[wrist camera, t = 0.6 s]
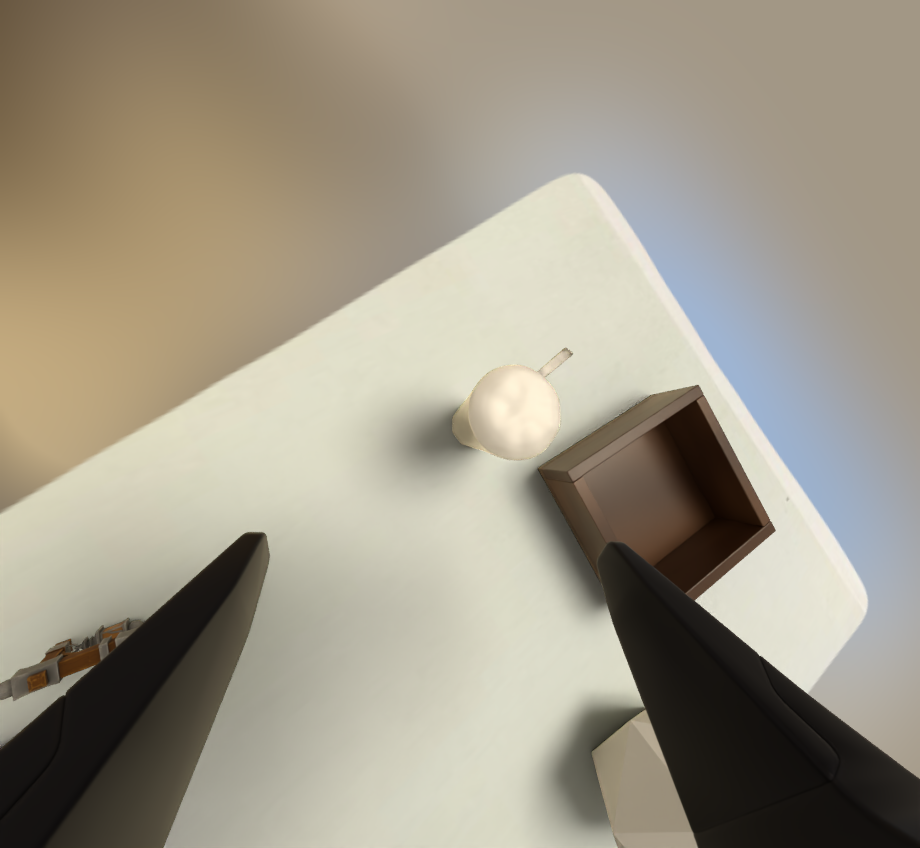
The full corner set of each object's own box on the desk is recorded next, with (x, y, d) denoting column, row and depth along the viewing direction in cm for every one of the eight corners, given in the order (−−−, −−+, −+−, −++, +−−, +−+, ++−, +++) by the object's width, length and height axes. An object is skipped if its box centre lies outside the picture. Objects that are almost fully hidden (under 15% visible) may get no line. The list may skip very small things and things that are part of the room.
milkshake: (522, 409, 25) (609, 382, 15) (481, 470, 24) (546, 483, 14) (472, 371, 24) (529, 317, 14) (429, 432, 23) (458, 417, 13)
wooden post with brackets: (29, 640, 17) (-21, 681, 14) (220, 576, 22) (221, 593, 18) (34, 676, 17) (-14, 727, 14) (225, 604, 22) (227, 627, 18)
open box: (718, 518, 28) (776, 530, 24) (612, 604, 25) (656, 634, 21) (652, 394, 27) (699, 384, 23) (537, 468, 25) (566, 471, 21)
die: (593, 835, 24) (789, 988, 18) (551, 833, 19) (802, 1044, 13) (617, 697, 29) (781, 778, 22) (588, 667, 24) (789, 759, 17)
